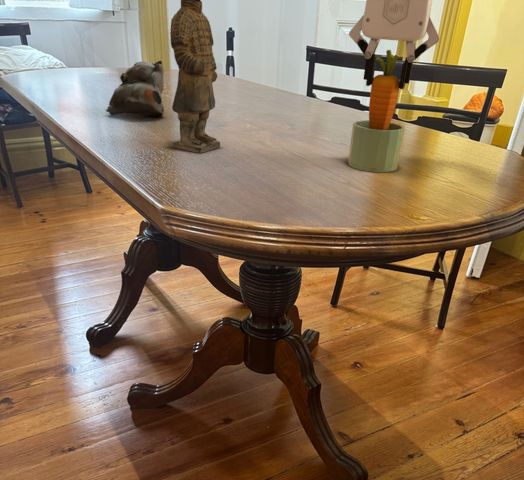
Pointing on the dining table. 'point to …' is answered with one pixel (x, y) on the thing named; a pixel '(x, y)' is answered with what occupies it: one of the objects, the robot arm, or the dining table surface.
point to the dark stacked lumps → (139, 91)
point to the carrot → (383, 94)
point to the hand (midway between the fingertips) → (385, 85)
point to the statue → (193, 76)
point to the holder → (375, 147)
